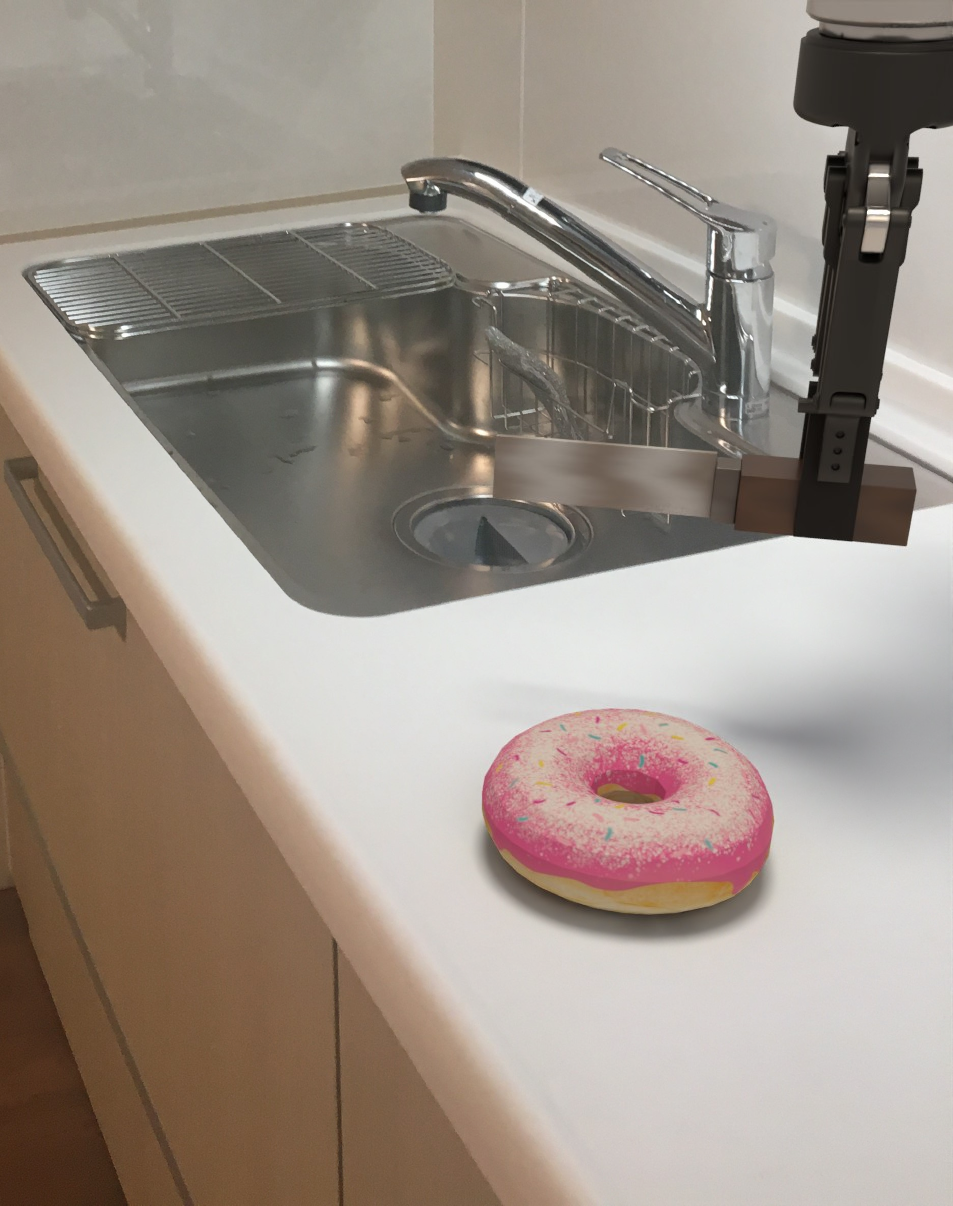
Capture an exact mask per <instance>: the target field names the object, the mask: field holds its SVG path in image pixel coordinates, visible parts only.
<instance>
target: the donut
mask: <svg viewBox="0 0 953 1206" xmlns="http://www.w3.org/2000/svg"><path fill="white" fill-rule="evenodd" d="M773 808H774V807H773V802H772V799H771V797H770V794H769V791H768V789H767V787H766V784H765V782H764V780H763V778H762V776H761V774H760V772H759V770H758V769H757V768H756V767H755V766H754V765H753V763H752V762H751V761H750V760H749V759H748V758H747V756H745V755H744V754H743V753H741V751H739V750H738V749H736V748H735V747H734V746H732V745H731V744H730V743H729V742H727V741H726V740H724V739H722V738H721V737H719V736H718V735H716V734H715V733H713V732H711V731H710V730H707V729H706V728H704V727H702V726H700V725H697V724H696V723H693V722H690V721H688V720H685V719H683V718H682V717H681V718H680V717H678V716H677V717H676V716H673V715H669V714H666V713H661V712H656V711H651V710H643V709H636V708H634V709H633V708H600V709H586V710H582V711H576V712H575V711H574V712H571V713H564V714H562V715H559V716H555V717H553V718H550V719H546V720H544V721H542V722H540V723H538V724H536V725H534V726H531V727H530V728H528V729H525V730H524V731H523V732H520V733H519V734H517V735H515V736H514V737H513V738H511V740H509V741H508V742H507V743H506V744H505V745H504V746H503V747H501V749H500V750H499V752H498V753H497V755H496V756H495V758H494V760H493V762H492V763H491V765H490V767H489V769H488V770H487V772H486V774H485V775H484V779H483V784H482V790H481V813H482V817H483V821H484V825H485V829H486V830H487V832H488V834H489V836H490V838H491V839H492V841H493V844H494V845H495V847H496V848H497V850H498V852H499V854H500V855H501V857H502V859H503V860H505V862H507V864H509V866H510V867H512V869H514V871H515V872H516V873H518V874H519V875H521V876H522V877H524V878H525V879H526V880H528V881H530V882H531V883H532V884H534V885H536V886H537V887H538V888H540V889H541V888H542V889H543V890H545V891H547V892H550V893H552V894H555V895H556V896H559V897H560V898H563V899H565V900H568V901H570V902H572V903H577V904H579V905H584V906H585V907H590V908H593V909H597V910H601V911H602V910H603V911H609V912H614V913H615V912H616V913H620V914H634V915H667V914H678V913H682V912H688V911H692V910H697V909H702V908H707V907H712V906H714V905H717V904H719V903H722V902H724V901H726V900H729V899H732V898H734V897H735V896H736V895H738V894H739V893H741V892H742V891H743V890H744V889H745V888H747V887H748V886H749V885H750V884H751V883H752V882H753V880H754V879H755V878H756V877H757V876H758V874H759V873H760V872H761V870H762V868H763V866H764V865H765V863H766V861H767V860H768V858H769V856H770V850H771V844H772V838H773V833H774V832H773V831H774V825H775V816H774V809H773Z"/></svg>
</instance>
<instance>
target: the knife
mask: <svg viewBox="0 0 953 1206" xmlns="http://www.w3.org/2000/svg"><path fill="white" fill-rule="evenodd" d="M494 446H495V447H494V464H493V466H494V467H493V483H492V498H493V499H503V500H512V501H513V500H514V501H523V502H535V503H546V504H557V505H568V506H578V507H591V508H598V509H599V508H601V509H609V510H610V509H611V510H620V511H622V510H623V511H633V512H643V513H654V514H655V513H656V514H663V515H664V514H665V515H674V516H675V515H676V516H687V517H696V518H697V517H698V518H709V523H712V524H723V525H733V526H734V527H733V530H734V531H735V532H747V533H759V534H769V535H778V536H779V535H781V536H791V537H793V528H794V521H795V514H796V507H797V499H798V492H799V485H800V477H801V470H802V463H803V459H801V458H799V457H788V456H775V455H764V454H763V455H762V454H752V453H751V454H750V453H742V455H741V458H738V457H737V458H736V457H725V456H718V451H717V450H716V451H714V450H701V449H690V448H678V447H665V446H653V445H641V444H640V445H639V444H629V443H616V442H615V443H614V442H604V441H603V442H602V441H591V440H580V439H579V440H578V439H567V438H553V437H542V436H530V435H529V436H528V435H515V434H506V433H496V435H495V445H494ZM917 490H918V489H917V484H916V478H915V472H914V467H910V466H901V465H888V464H874V463H864V470H863V476H862V482H861V489H860V495H859V502H858V508H857V515H856V521H855V527H854V534H853V540H852V542H855V543H863V544H864V543H865V544H873V545H874V544H875V545H884V546H885V545H886V546H887V545H888V546H896V547H907V546H908V542H909V537H910V532H911V525H912V521H913V520H912V519H913V514H914V508H915V503H916V499H917V498H916V497H917V492H918V491H917Z"/></svg>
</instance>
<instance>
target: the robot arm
mask: <svg viewBox="0 0 953 1206" xmlns="http://www.w3.org/2000/svg"><path fill="white" fill-rule="evenodd" d="M805 12H806V15H808V16H809V18H811V19H812V20H814V21H816V22H818V23H819V24H818V26H817V27H813V28H811V29H809V30H808V31H806V34H805V35H804V36H802V37H801V39H800V43H799V52H798V60H797V66H796V67H797V68H796V76H795V84H794V91H793V100H792V106H793V110H794V113H795V114H796V115H797V116H798V117H799V118H800V119H802V120H804V121H806V122H809V123H812V124H815V125H819V126H822V127H823V126H824V127H829V128H841V127H845V128H848V129H847V134H846V140H845V147H844V150H839V151H838V152H837V154H826V158H825V164H824V173H823V194H824V201H825V205H824V212H823V220H822V227H821V245H822V246H823V248H822V258H823V259H824V264H823V265H824V266H823V273H822V281H821V289H820V294H819V304H818V312H817V319H816V327H815V333H814V335H812V337H811V342H810V343H811V349H812V351H813V354H814V357H813V358H812V359H810V366H809V367H810V368H809V369H810V370H811V372H812V377H813V378H817V380H809V381H808V389H807V396H806V397H798V400H797V401H798V402H797V413H799V414H800V413H801V414H804V417H803V425H802V432H801V439H800V447H799V455H798V458H801V459H803V463H802V470H801V477H800V485H799V492H798V499H797V507H796V514H795V521H794V528H793V536H792V537H794V538H805V539H817V540H827V541H839V542H851V543H852V542H853V541H852V540H853V534H854V527H855V521H856V515H857V508H858V502H859V495H860V489H861V482H862V476H863V470H864V464H866V455H867V449H868V442H869V436H870V432H871V431H870V430H871V424H872V418H875V416H876V415H877V413H878V411H879V409H880V404H881V398H879V394H880V389H881V388H880V387H881V382H882V380H883V376H884V371H883V370H884V365H885V364H884V363H885V357H886V353H887V352H886V351H887V345H888V339H889V335H890V334H889V333H890V327H891V321H892V315H893V309H894V302H895V297H896V292H897V284H898V279H899V275H900V274H899V273H900V267H902V265H903V264H904V263H905V260H906V255H907V248H908V242H909V234H910V229H911V228H912V223H913V215H912V214H913V212H914V210H915V209H916V208H917V206H918V205H919V204H920V200H921V193H922V188H923V180H924V167H923V168H921V167H919V166H920V164H919V163H920V157H919V156H909V153H910V140H911V135H912V134H913V133H916V132H917V131H919V130H922V129H930V130H939V129H946V128H950V127H953V0H806V8H805Z"/></svg>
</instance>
